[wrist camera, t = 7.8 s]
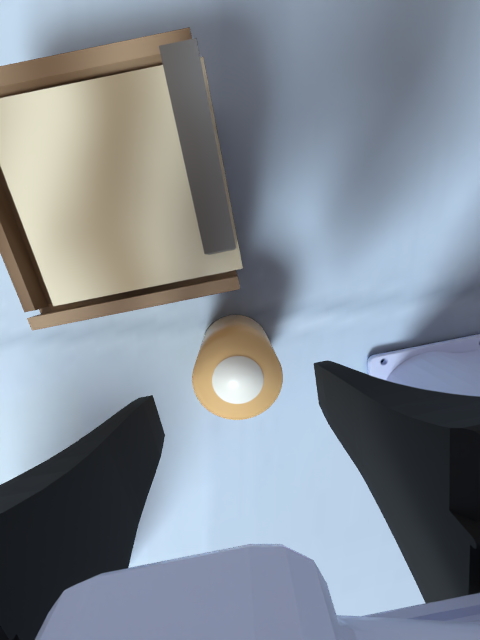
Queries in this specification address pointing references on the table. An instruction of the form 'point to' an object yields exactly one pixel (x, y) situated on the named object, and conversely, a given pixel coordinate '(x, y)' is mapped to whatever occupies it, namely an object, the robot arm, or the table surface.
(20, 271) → the wooden box
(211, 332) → the roll-on deodorant
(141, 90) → the lid
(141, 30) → the table surface
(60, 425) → the table surface
